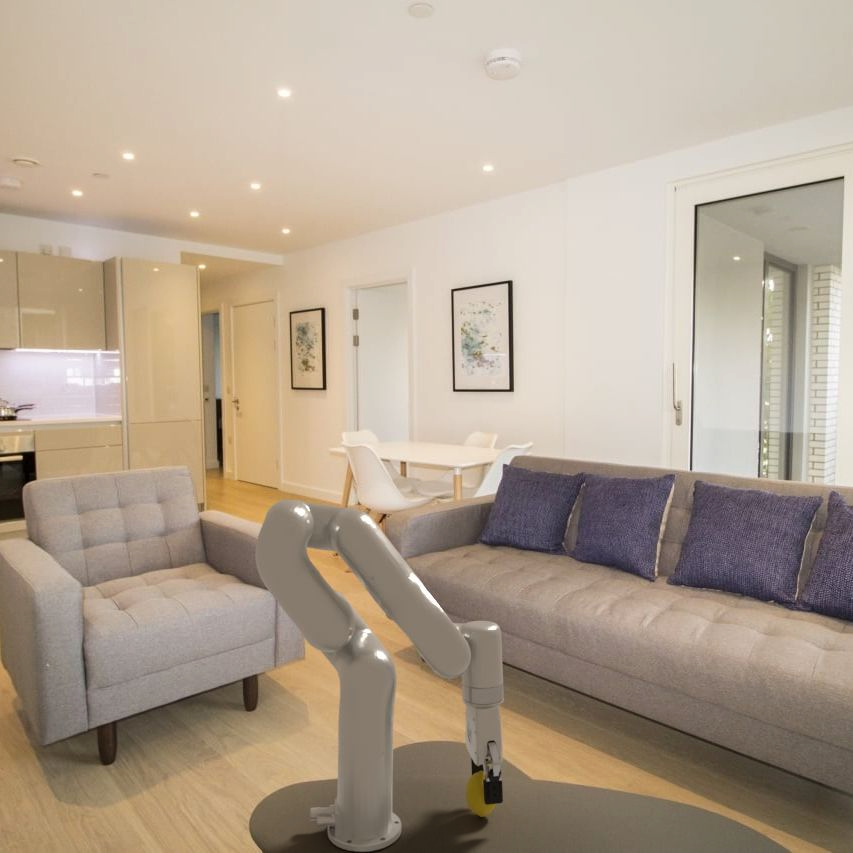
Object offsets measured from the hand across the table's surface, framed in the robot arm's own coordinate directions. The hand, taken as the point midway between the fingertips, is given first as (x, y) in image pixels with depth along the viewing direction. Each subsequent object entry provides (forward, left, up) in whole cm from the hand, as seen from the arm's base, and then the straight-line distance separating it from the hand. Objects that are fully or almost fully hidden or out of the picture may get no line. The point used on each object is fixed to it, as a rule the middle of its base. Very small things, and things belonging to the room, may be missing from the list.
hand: (486, 789), depth 115 cm
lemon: (-1, 0, -5) cm, 5 cm away
